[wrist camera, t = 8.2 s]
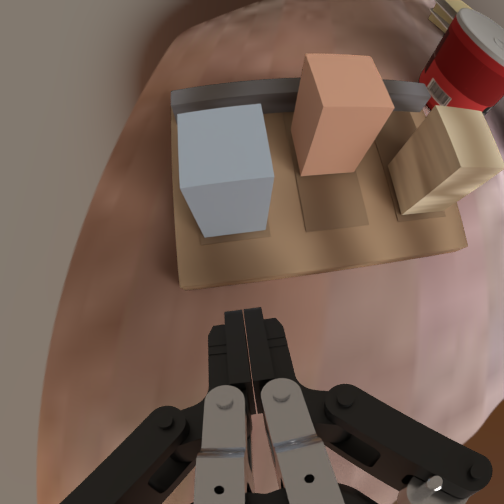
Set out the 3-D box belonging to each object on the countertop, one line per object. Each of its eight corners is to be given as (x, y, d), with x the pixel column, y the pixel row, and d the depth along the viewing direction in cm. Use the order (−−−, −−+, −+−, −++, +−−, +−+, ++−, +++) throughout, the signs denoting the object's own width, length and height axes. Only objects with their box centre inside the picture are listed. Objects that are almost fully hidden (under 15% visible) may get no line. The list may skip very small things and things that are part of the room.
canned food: (477, 142, 26) (536, 85, 15) (414, 109, 26) (464, 34, 16) (473, 94, 28) (519, 38, 17) (416, 64, 28) (454, -4, 17)
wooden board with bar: (403, 96, 27) (420, 68, 22) (454, 251, 23) (486, 238, 19) (175, 107, 26) (165, 74, 22) (185, 290, 23) (170, 282, 18)
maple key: (428, 164, 23) (481, 111, 15) (443, 211, 22) (505, 167, 14) (387, 165, 22) (435, 105, 15) (401, 215, 22) (461, 167, 14)
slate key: (257, 175, 22) (260, 103, 14) (265, 230, 21) (274, 176, 13) (199, 182, 22) (177, 114, 14) (204, 237, 21) (180, 188, 13)
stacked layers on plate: (405, 14, 31) (417, -14, 26) (437, 10, 32) (449, -14, 27) (458, 61, 29) (476, 35, 24) (484, 53, 30) (500, 30, 25)
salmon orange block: (340, 127, 23) (370, 56, 15) (353, 172, 22) (394, 107, 14) (290, 129, 23) (305, 53, 15) (300, 176, 22) (323, 106, 14)
